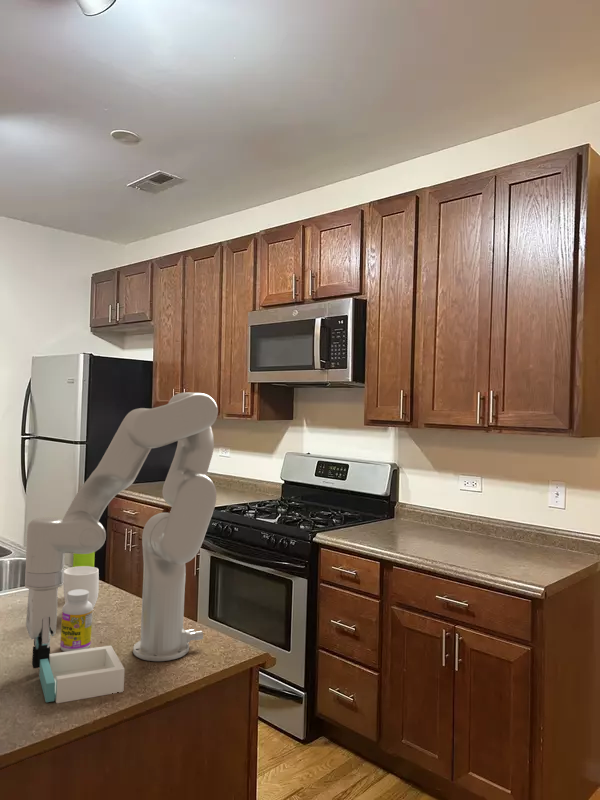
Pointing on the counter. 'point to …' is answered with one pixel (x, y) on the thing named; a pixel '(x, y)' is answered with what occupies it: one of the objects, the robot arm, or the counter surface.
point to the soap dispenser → (83, 559)
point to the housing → (86, 673)
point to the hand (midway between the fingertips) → (40, 665)
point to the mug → (82, 581)
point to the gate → (47, 680)
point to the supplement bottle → (76, 621)
